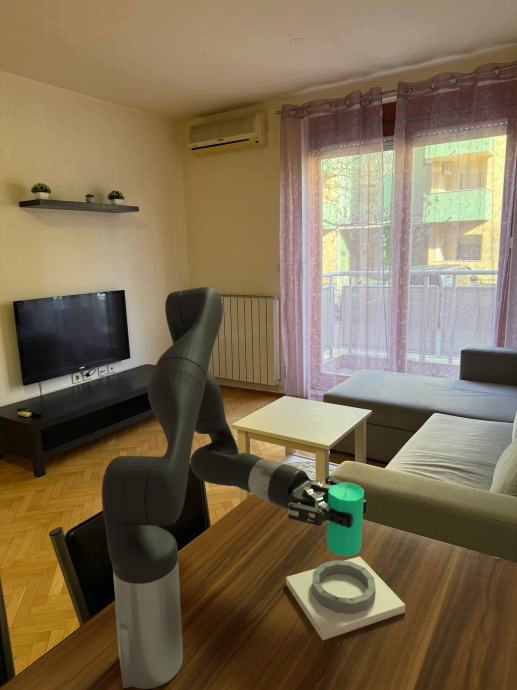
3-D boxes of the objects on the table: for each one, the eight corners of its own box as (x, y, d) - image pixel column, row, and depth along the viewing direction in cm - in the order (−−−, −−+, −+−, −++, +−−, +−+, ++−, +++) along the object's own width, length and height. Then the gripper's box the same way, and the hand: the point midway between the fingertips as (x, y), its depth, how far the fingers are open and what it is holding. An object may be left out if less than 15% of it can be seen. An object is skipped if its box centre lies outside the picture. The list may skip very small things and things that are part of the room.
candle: (359, 535, 87) (362, 474, 84) (363, 557, 81) (366, 492, 78) (325, 533, 87) (327, 473, 84) (327, 555, 81) (329, 490, 79)
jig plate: (322, 640, 77) (322, 621, 76) (286, 584, 89) (286, 567, 89) (404, 612, 82) (405, 594, 82) (359, 563, 95) (360, 547, 94)
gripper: (254, 479, 85) (339, 513, 74) (299, 452, 96) (379, 477, 85) (254, 517, 86) (338, 555, 76) (298, 486, 97) (377, 515, 87)
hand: (359, 514), depth 81 cm, fingers closed on candle, 5 cm apart
